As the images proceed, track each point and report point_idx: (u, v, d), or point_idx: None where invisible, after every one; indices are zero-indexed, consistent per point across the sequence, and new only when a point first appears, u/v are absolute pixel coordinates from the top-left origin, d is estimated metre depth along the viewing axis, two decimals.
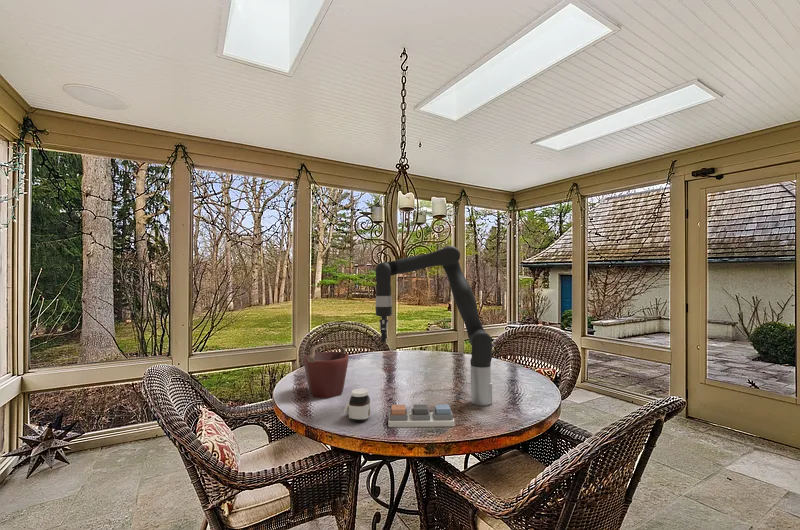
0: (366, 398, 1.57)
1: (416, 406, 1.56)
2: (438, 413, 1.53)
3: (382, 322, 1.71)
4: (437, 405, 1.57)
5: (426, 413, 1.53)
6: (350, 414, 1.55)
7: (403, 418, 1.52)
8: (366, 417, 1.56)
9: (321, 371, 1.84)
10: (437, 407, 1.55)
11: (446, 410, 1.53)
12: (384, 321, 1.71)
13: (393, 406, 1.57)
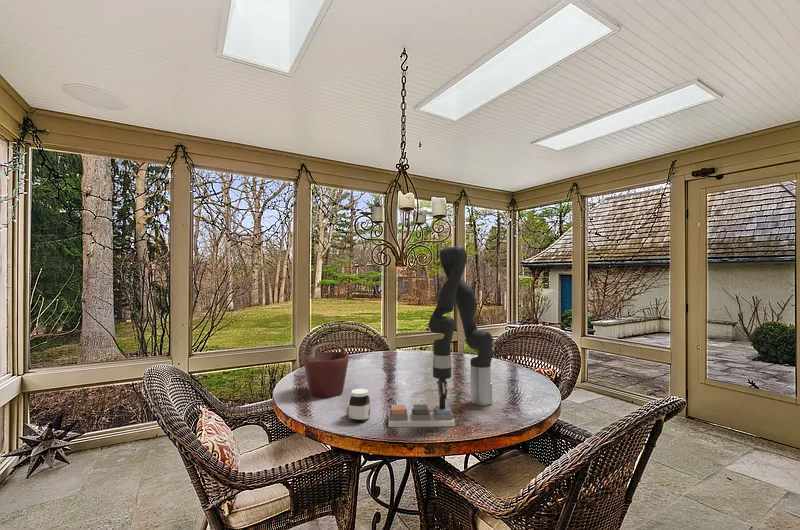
0: (366, 398, 1.57)
1: (416, 406, 1.56)
2: (438, 414, 1.53)
3: (442, 392, 1.51)
4: (437, 406, 1.57)
5: (426, 413, 1.53)
6: (350, 414, 1.55)
7: (403, 418, 1.52)
8: (366, 417, 1.56)
9: (321, 371, 1.84)
10: (437, 408, 1.55)
11: (446, 411, 1.53)
12: (445, 392, 1.50)
13: (393, 406, 1.57)
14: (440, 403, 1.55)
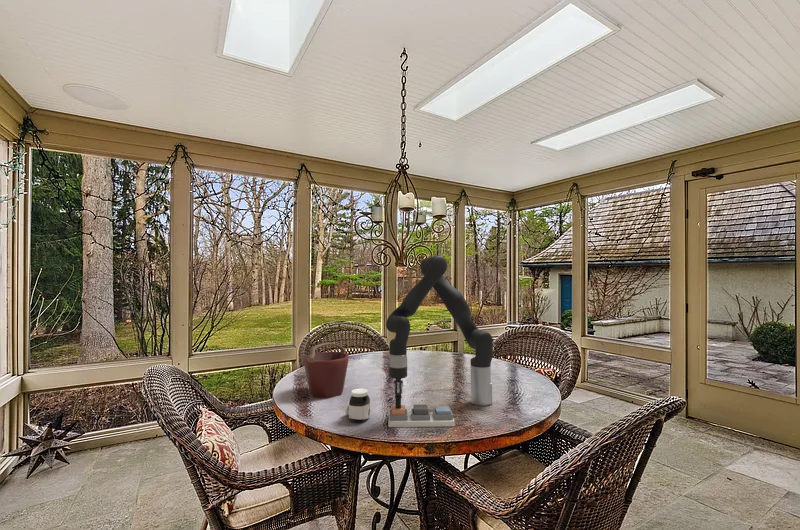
0: (366, 398, 1.57)
1: (416, 406, 1.56)
2: None
3: (397, 392, 1.50)
4: (437, 407, 1.57)
5: (426, 413, 1.53)
6: (350, 414, 1.55)
7: (403, 418, 1.52)
8: (366, 417, 1.56)
9: (321, 371, 1.84)
10: (437, 409, 1.55)
11: (446, 412, 1.53)
12: (399, 391, 1.50)
13: (393, 407, 1.57)
14: (396, 403, 1.55)
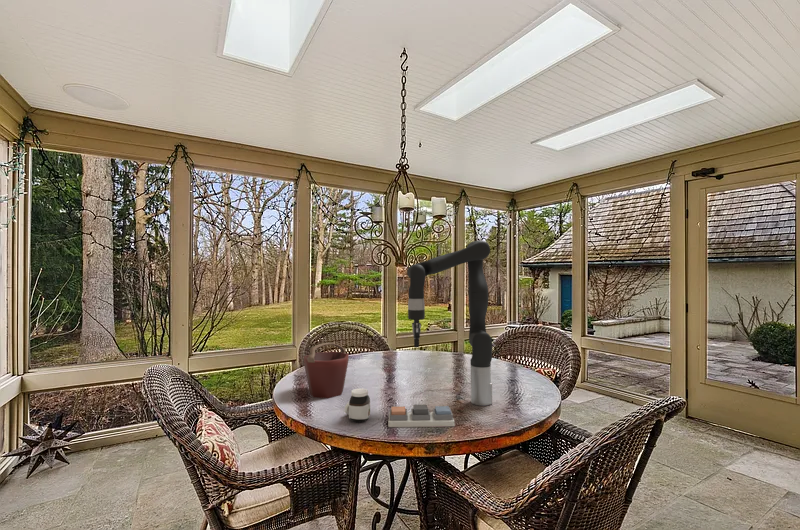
0: (366, 398, 1.57)
1: (416, 406, 1.56)
2: None
3: (416, 331, 1.68)
4: (437, 407, 1.57)
5: (426, 413, 1.53)
6: (350, 414, 1.55)
7: (403, 418, 1.52)
8: (366, 417, 1.56)
9: (321, 371, 1.84)
10: (437, 409, 1.55)
11: (446, 412, 1.53)
12: (418, 330, 1.67)
13: (393, 408, 1.57)
14: None
